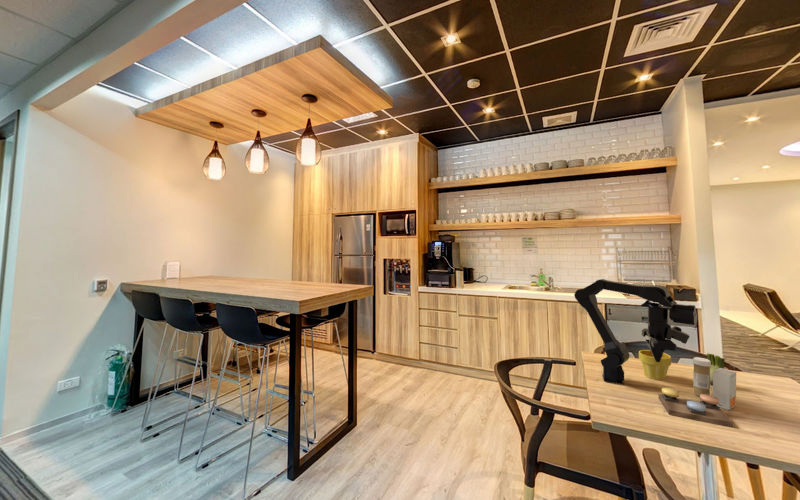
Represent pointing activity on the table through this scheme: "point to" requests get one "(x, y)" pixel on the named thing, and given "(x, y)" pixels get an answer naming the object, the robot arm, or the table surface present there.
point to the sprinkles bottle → (701, 376)
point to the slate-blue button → (696, 406)
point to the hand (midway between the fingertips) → (657, 361)
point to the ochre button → (670, 392)
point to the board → (694, 411)
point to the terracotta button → (709, 399)
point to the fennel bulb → (715, 364)
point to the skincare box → (724, 388)
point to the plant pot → (654, 365)
